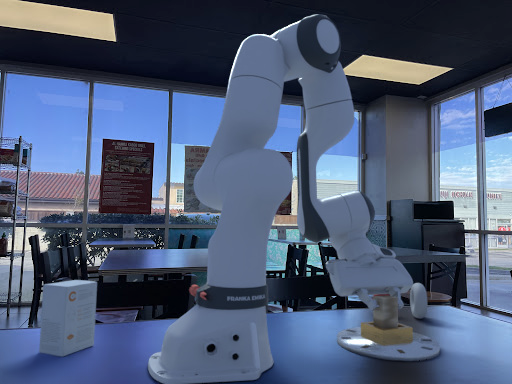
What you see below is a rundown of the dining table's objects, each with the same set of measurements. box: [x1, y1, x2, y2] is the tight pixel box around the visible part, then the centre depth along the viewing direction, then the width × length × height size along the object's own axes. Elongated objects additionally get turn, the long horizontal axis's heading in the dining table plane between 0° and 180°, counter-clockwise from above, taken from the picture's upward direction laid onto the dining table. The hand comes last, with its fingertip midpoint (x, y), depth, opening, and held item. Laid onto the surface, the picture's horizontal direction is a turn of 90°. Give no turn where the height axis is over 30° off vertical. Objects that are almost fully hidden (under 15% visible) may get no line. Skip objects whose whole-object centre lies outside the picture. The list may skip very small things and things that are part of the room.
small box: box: [38, 279, 98, 358], centre depth 78 cm, size 8×6×13 cm
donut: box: [409, 282, 428, 320], centre depth 112 cm, size 10×4×10 cm, turn 168°
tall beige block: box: [372, 295, 399, 329], centre depth 86 cm, size 4×3×9 cm
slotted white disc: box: [336, 320, 440, 362], centre depth 85 cm, size 21×21×4 cm
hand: (387, 308), depth 85 cm, fingers open, 5 cm apart
